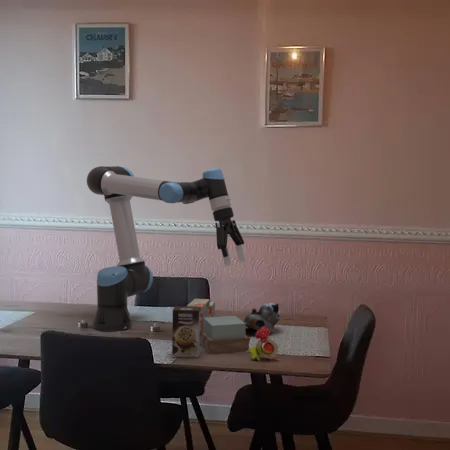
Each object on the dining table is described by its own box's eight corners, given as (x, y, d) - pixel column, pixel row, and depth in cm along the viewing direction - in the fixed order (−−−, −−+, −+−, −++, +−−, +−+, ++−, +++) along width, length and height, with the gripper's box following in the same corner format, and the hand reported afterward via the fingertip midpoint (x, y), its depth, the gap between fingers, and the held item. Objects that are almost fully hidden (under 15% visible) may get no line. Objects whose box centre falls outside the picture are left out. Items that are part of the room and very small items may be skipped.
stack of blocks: (200, 323, 250) (200, 293, 249) (215, 324, 249) (215, 294, 248) (186, 337, 229) (186, 304, 228) (202, 338, 228) (202, 305, 227)
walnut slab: (199, 344, 221) (199, 330, 221) (236, 341, 225) (236, 328, 225) (210, 355, 208) (210, 340, 207) (248, 352, 212) (249, 338, 211)
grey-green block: (203, 331, 220) (203, 317, 219) (234, 329, 223) (235, 315, 223) (212, 340, 208) (212, 325, 208) (245, 337, 212) (245, 323, 211)
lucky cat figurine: (244, 326, 245) (260, 295, 246) (271, 340, 242) (287, 309, 243) (238, 324, 231) (255, 291, 232) (266, 339, 227) (283, 306, 229)
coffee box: (171, 357, 203) (171, 309, 202) (174, 351, 210) (174, 305, 208) (198, 358, 203) (199, 310, 202) (200, 352, 209) (200, 306, 208)
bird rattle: (272, 362, 205) (248, 350, 207) (285, 333, 204) (261, 321, 205) (269, 368, 199) (244, 355, 201) (283, 339, 197) (258, 326, 199)
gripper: (217, 206, 216) (232, 264, 215) (243, 205, 239) (256, 258, 238) (198, 212, 219) (213, 269, 218) (226, 211, 242) (239, 262, 241)
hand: (236, 263), depth 228 cm, fingers open, 13 cm apart
